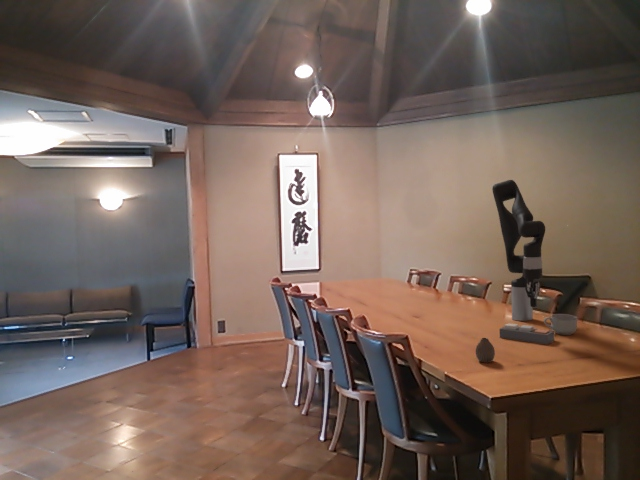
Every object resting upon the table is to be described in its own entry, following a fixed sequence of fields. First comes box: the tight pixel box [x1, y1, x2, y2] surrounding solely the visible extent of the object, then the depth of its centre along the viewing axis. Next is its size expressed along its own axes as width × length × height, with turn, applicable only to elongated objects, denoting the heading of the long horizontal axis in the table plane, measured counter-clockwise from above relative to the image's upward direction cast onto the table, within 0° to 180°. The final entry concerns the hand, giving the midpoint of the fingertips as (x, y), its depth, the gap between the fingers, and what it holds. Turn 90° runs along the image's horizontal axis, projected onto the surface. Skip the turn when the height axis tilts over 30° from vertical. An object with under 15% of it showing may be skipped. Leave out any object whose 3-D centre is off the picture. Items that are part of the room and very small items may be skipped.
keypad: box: [499, 326, 555, 345], centre depth 212 cm, size 20×8×4 cm, turn 46°
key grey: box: [519, 324, 535, 332], centre depth 212 cm, size 5×5×2 cm
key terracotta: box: [534, 328, 550, 334], centre depth 207 cm, size 5×5×2 cm
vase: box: [475, 337, 496, 364], centre depth 183 cm, size 7×7×9 cm
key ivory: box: [503, 323, 520, 330], centre depth 216 cm, size 5×5×2 cm
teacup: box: [543, 313, 578, 336], centre depth 219 cm, size 14×11×8 cm
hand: (533, 306), depth 210 cm, fingers closed
